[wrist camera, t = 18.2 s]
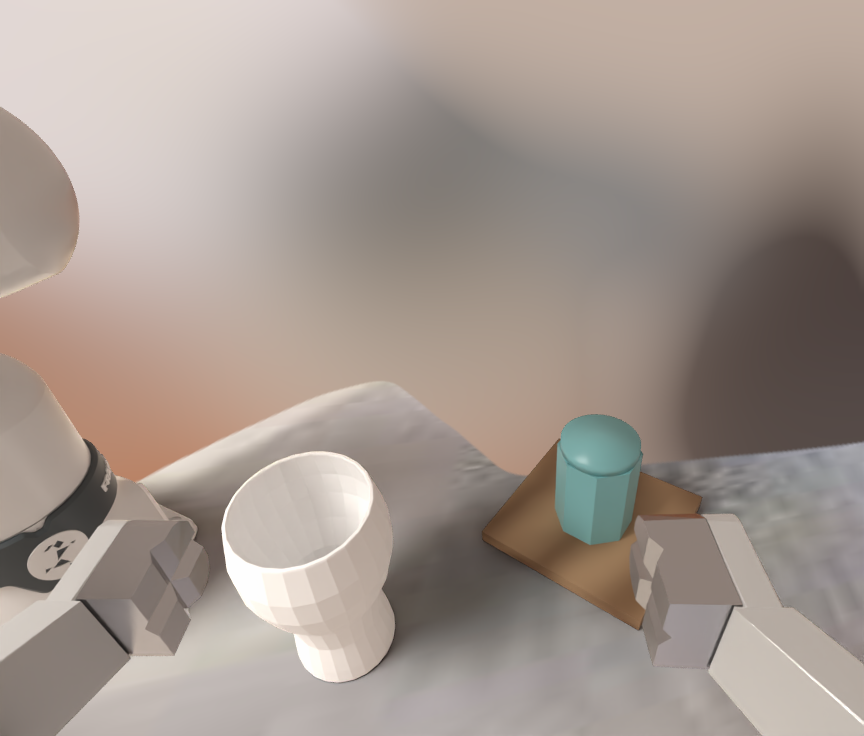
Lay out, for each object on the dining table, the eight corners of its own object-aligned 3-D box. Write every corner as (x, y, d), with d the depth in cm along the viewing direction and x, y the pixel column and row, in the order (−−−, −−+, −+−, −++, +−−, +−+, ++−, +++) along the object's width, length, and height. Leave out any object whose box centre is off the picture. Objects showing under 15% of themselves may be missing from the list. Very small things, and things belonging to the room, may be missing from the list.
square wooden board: (482, 539, 47) (479, 500, 44) (558, 446, 55) (560, 408, 52) (638, 630, 39) (647, 590, 36) (699, 506, 48) (711, 465, 45)
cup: (441, 624, 41) (418, 495, 33) (332, 740, 36) (269, 621, 27) (356, 549, 48) (318, 424, 39) (253, 636, 42) (181, 513, 33)
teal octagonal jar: (544, 521, 47) (546, 447, 41) (576, 478, 50) (582, 405, 45) (610, 555, 43) (621, 479, 38) (639, 507, 47) (653, 431, 42)
